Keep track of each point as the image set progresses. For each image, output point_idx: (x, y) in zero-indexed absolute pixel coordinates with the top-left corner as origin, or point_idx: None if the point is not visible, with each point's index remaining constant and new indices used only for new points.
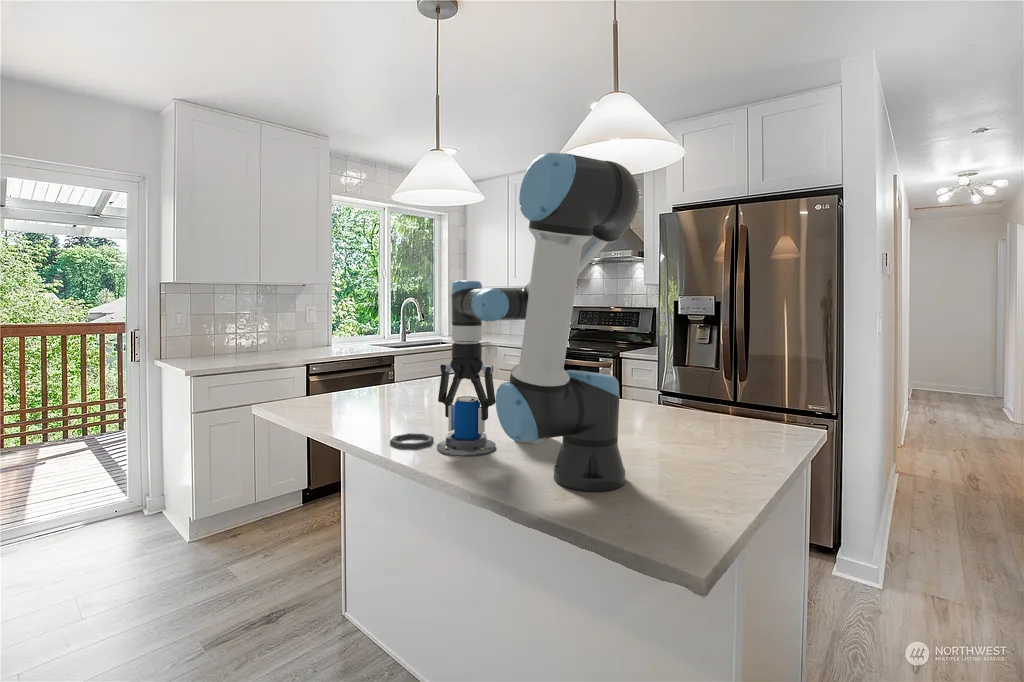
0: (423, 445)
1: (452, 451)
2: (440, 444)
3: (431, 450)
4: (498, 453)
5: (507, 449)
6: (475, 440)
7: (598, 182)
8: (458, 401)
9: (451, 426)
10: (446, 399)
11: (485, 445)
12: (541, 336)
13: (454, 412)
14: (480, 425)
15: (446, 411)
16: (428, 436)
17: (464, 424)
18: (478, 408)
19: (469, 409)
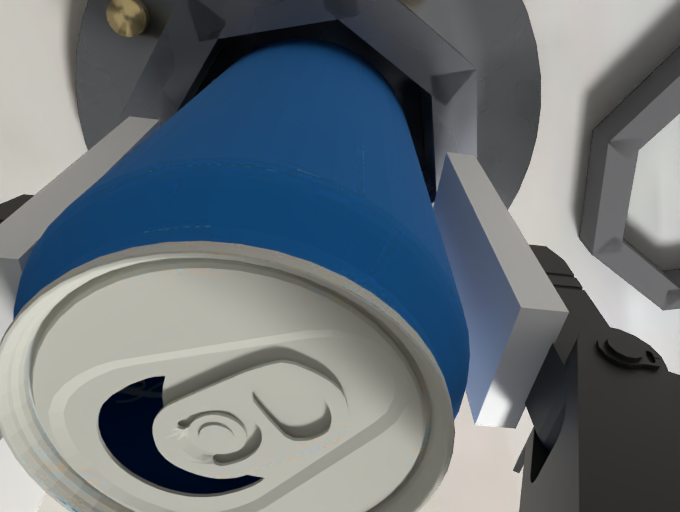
0: (652, 83)
1: None
2: (515, 106)
3: (572, 4)
4: (24, 43)
5: (18, 160)
6: (166, 26)
7: None
8: (372, 289)
9: (452, 178)
10: (659, 403)
11: None
12: None
13: None
14: (101, 147)
15: (566, 290)
16: (629, 256)
17: (264, 77)
18: (18, 256)
19: (129, 158)
